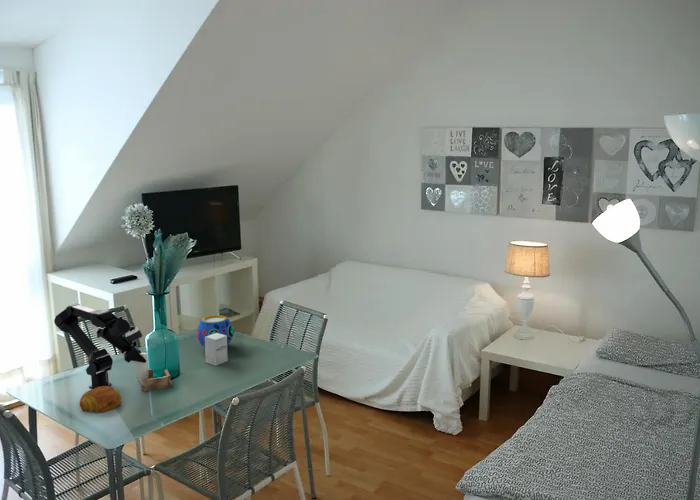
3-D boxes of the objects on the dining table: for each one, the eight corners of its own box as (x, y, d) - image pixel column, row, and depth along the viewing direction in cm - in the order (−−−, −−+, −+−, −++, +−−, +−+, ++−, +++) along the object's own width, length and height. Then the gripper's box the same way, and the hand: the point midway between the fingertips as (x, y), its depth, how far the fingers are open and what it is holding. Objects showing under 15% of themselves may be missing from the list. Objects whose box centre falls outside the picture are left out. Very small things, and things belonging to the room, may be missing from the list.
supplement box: (216, 366, 288) (214, 339, 285) (205, 362, 292) (204, 336, 290) (228, 361, 293) (227, 335, 291) (217, 357, 298) (216, 332, 295)
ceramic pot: (209, 357, 299) (208, 326, 296) (190, 347, 311) (189, 318, 308) (241, 348, 310) (240, 319, 307) (221, 339, 323) (220, 310, 320)
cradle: (142, 391, 260) (142, 381, 260) (138, 380, 272) (137, 370, 271) (172, 386, 266) (172, 376, 265) (166, 375, 277) (166, 365, 276)
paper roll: (148, 378, 264) (147, 356, 262) (136, 380, 263) (134, 357, 260) (148, 374, 269) (147, 351, 267) (135, 375, 267) (134, 353, 265)
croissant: (76, 410, 248) (71, 392, 246) (114, 393, 259) (110, 376, 256) (91, 422, 238) (86, 403, 236) (130, 404, 248) (125, 386, 246)
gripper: (131, 329, 251) (161, 352, 258) (126, 316, 267) (155, 337, 274) (112, 351, 249) (142, 373, 256) (108, 336, 266) (137, 357, 273)
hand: (145, 359), depth 265 cm, fingers closed on paper roll, 5 cm apart
